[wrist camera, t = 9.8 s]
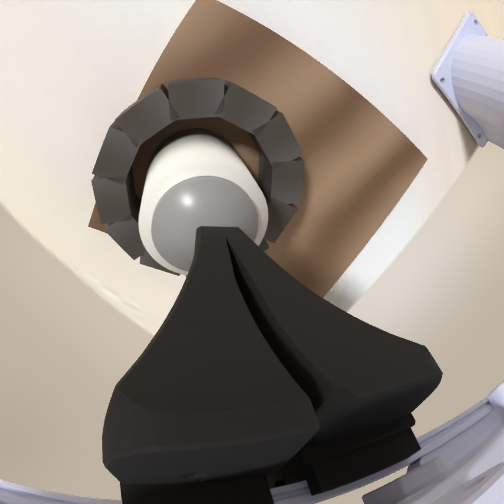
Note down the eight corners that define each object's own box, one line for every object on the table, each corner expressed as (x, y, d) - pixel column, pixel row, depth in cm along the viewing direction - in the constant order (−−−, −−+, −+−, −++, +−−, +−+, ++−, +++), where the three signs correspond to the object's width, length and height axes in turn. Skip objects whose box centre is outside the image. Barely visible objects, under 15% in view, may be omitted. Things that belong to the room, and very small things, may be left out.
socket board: (419, 153, 19) (450, 173, 17) (315, 292, 25) (332, 323, 22) (190, -7, 11) (195, -24, 8) (84, 215, 17) (70, 248, 14)
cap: (258, 171, 17) (296, 224, 12) (195, 229, 18) (206, 300, 13) (194, 108, 14) (205, 136, 9) (129, 178, 15) (111, 238, 10)
